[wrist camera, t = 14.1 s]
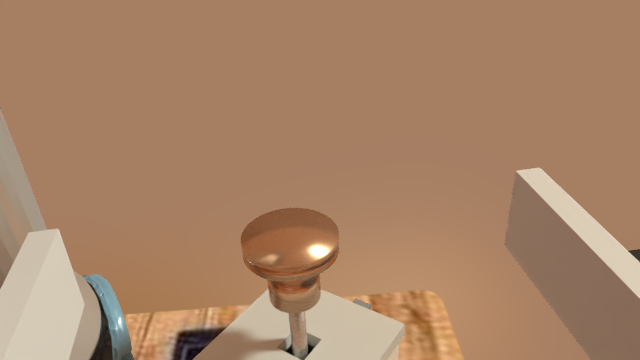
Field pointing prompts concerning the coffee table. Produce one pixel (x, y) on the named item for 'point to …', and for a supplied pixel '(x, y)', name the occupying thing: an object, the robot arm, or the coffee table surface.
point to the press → (309, 333)
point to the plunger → (292, 262)
